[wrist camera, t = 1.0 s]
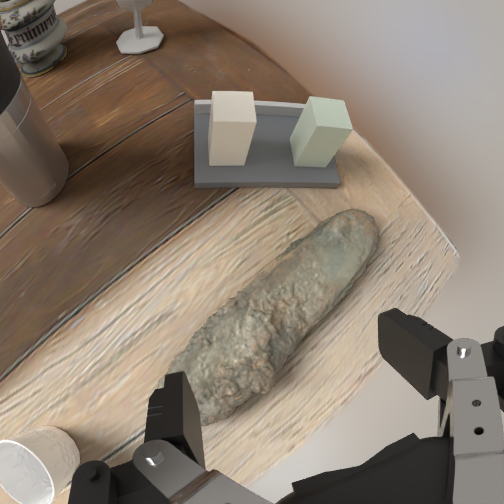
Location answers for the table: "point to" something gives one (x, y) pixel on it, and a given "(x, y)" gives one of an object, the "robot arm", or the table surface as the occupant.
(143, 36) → the wineglass
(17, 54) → the apothecary jar
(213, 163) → the white block
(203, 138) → the tile board
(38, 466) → the white cup
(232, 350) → the elongated rock
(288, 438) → the table surface
